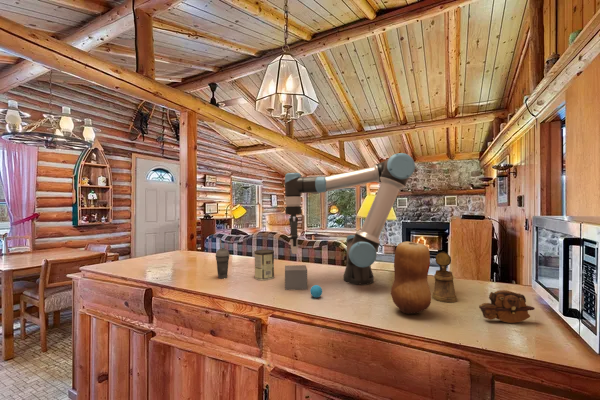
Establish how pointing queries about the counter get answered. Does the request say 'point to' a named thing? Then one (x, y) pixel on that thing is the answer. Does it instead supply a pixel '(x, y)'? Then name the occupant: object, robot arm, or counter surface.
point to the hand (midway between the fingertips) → (294, 251)
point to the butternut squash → (411, 277)
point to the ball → (316, 291)
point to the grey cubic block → (295, 277)
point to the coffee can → (264, 264)
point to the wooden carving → (506, 307)
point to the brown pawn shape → (444, 280)
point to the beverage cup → (222, 262)
